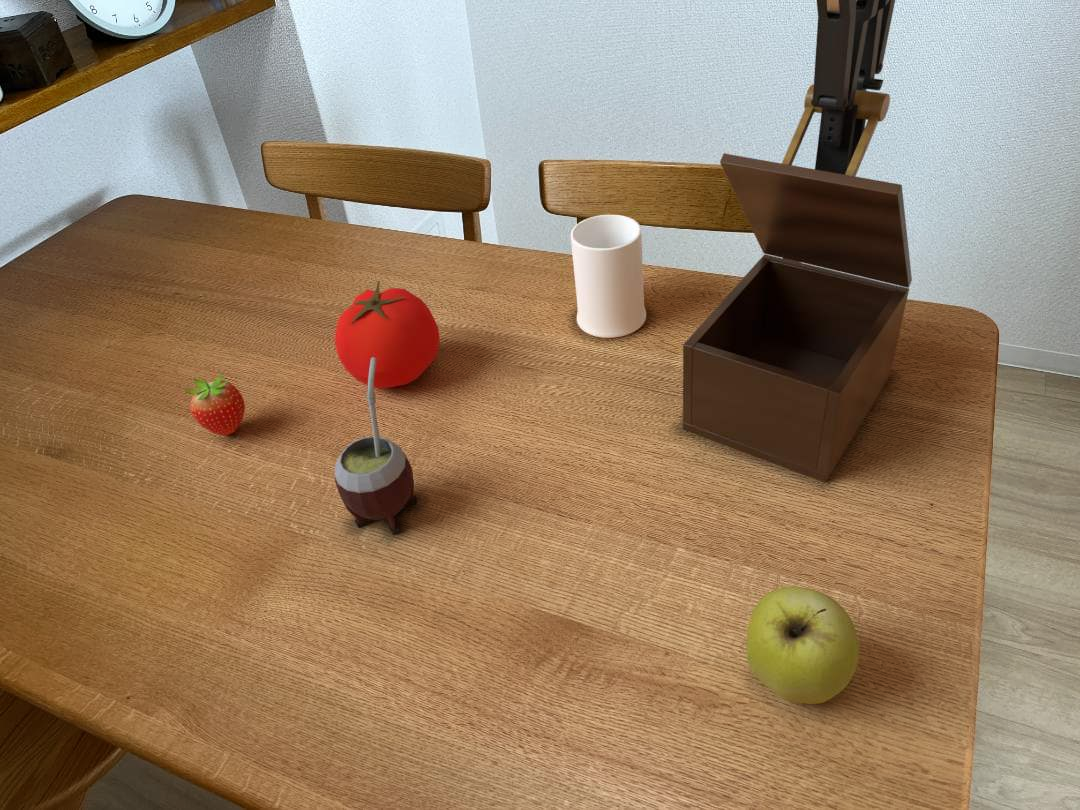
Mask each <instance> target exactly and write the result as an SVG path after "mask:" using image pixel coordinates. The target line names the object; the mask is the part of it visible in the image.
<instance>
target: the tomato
mask: <svg viewBox="0 0 1080 810" xmlns="http://www.w3.org/2000/svg"><path fill="white" fill-rule="evenodd" d="M347 307H348V308H346V309H345V310H343V312H342V313H341V315H339V317H338V320H337V324H336V328H335V333H334V346H335V349H336V353H337V356H338V359H339V361H340V362H341V364H342V366H343V367H344V369H345V370H346V371H347V372H348V373H349V374H350V376H352V377H353V378H354V379H355V381H357V382H360V383H361V384H363V385H366V386H368V377H369V369H370V361H371V358H376V366H375V375H374V389H375V388H376V389H386V388H387V389H388V388H394V387H401V386H405V385H408V384H410V383H412V382H414V381H415V380H417V379H418V378H419V377H420V376H421V375H422V374H423V373H424V372H425V371H426V370H427V369H428V367H429V366H430V365H431V364H432V362H433V361H434V360H435V359H436V356H437V354H438V350H439V347H440V345H441V340H440V339H441V338H440V331H439V330H440V329H439V325H438V324H437V321H436V320H435V318H434V315H433V313H432V312H431V309H430V308H429V307H428V305H426V303H425V302H424V301H423V300H422V299H421V298H420V297H418V296H416V295H415V294H414V293H412V292H410V291H409V290H407V289H406V288H400V287H399V288H398V287H389V288H387V289H385V290H384V291H382V292H380V280H378V281H377V283H376V288H375V290H373V289H366V290H364V291H363V292H361V293H360V294H358V295H356V296H355V297H354V300H353V301H352V303H351V304H350V305H347Z"/></svg>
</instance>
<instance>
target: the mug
mask: <svg viewBox="0 0 1080 810" xmlns="http://www.w3.org/2000/svg"><path fill="white" fill-rule="evenodd" d="M642 234H643V233H642V227H641V225H640V223H639V222H637V220H635V219H633V218H632V217H629V216H626V215H622V214H600V215H595V216H591V217H588V218H586V219H583V220H581V221H580V222H578V223H577V224H576V225H575V226H573V228H572V229H571V231H570V243H571V255H572V265H573V275H574V285H575V295H576V304H577V306H576V307H577V314H576V324H577V325H578V327H579V328H580V329H581V330H582V331H583V332H584V333H586V334H588V335H589V336H593V337H597V338H603V339H615V338H621V337H625V336H629V335H630V334H633V333H634V332H636V331H638V330H639V329H640V328H641V327H642V326H643V325H644V324H645V322H646V319H647V310H646V307H645V295H644V269H643V268H644V264H643V239H642V237H643V236H642Z"/></svg>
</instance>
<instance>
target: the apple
mask: <svg viewBox="0 0 1080 810" xmlns="http://www.w3.org/2000/svg"><path fill="white" fill-rule="evenodd" d="M746 661H747V664H748V667H749V669H750V671H751V673H752V674H753V675H754V677H755V678H756V679H757V680H758V681H759V682H760V683H761V684H763V686H765V687H766V688H768V689H770V691H772V692H773V693H775V694H776V695H777V696H779V697H780V698H782V699H784V700H785V701H788V702H792V703H797V704H807V705H816V704H822V703H826V702H827V701H829V700H831V699H832V698H834V697H836V696H837V695H839V693H841V692H842V691H844V689H846V687H847V686H848V685H849V683H850V682H851V680H852V679H853V676H854V674H855V672H856V671H857V668H858V665H859V661H860V641H859V638H858V634H857V631H856V628H855V625H854V623H853V620H852V619H851V617H850V615H849V613H848V612H847V610H846V609H845V608H844V607H843V606H842V605H841V604H840V603H839V602H838V601H836V599H834V598H833V597H831V596H830V595H829V594H826V593H824V592H822V591H820V590H817V589H813V588H809V587H805V586H804V587H803V586H802V587H801V586H785V587H780V588H777V589H773V590H771V591H770V592H768V593H766V594H765V595H764V596H762V597H761V598H760V599H759V600H758V602H757V603H756V605H755V607H754V609H753V611H752V613H751V616H750V619H749V621H748V625H747V629H746Z"/></svg>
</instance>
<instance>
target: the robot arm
mask: <svg viewBox="0 0 1080 810" xmlns="http://www.w3.org/2000/svg"><path fill="white" fill-rule="evenodd" d="M895 4H896V0H816V9H817V10H816V11H817V30H816V43H815V56H814V57H815V60H814V77H813V85H814V89H813V99H812V100H811V105H813V107H819V108H822V113H820V125H819V132H818V138H817V139H818V140H817V147H816V154H815V155H816V156H815V165H814V169H816V170H821V171H827V172H833V173H838V174H844V175H845V173H846V171H847V169H848V166H849V164H850V162H851V159H852V157H853V155H854V152H855V150H856V147H857V145H858V143H859V140H860V138H861V136H862V133H863V131H864V129H865V126H866V123H867V120H865V119H858V118H856V115H857V108H858V105H854V102H855V100H854V99H855V93H856V90H862V91H868V90H871V91H877V92H878V91H881V89H882V87H883V83H884V79H880V78H876V75H880V74H881V72H882V70H883V68H884V59H885V55H886V50H887V44H888V39H889V34H890V29H891V24H892V19H893V14H894V8H895Z"/></svg>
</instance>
